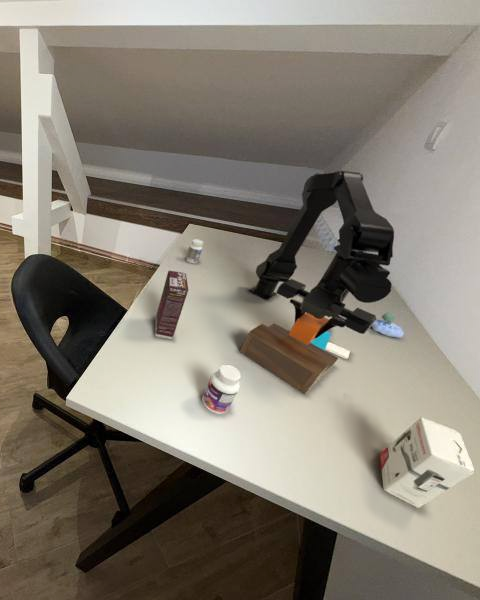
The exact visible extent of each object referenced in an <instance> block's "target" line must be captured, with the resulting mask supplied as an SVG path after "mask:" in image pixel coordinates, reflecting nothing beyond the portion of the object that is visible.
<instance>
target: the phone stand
mask: <svg viewBox="0 0 480 600" xmlns="http://www.w3.org/2000/svg"><path fill="white" fill-rule="evenodd" d="M329 331H330V329H329V330H328V331H326V332H325V333H323V334H322V335H320V336H319V337H317V338H315V339H314V340H313V341H312V342H310V343H312V344H314V345H315V346H317V347H319V348H321V349H323V350H325V351H326V352H328V353H330V354H332V355H334V356H337V357H340V358H342V359H344V360H348V359H349V357H350V354H351V350H348V349H347V348H344V347H342V346H339V345H337V344H335V343H332V342H330V338H331V336H332V333H331V332H329Z"/></svg>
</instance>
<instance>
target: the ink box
mask: <svg viewBox="0 0 480 600" xmlns="http://www.w3.org/2000/svg"><path fill="white" fill-rule="evenodd" d="M379 463H380V470H381V478H382V485H383V486H382V487H383V491H385V492H387V493H388V494H390V495H392V496H394V497H396V498H397V499H400V500H402V501H403V502H406V503H407V504H409V505H410V506H411V505H412V506H413V507H415V508H418V509H419V508H422V507H423V506H424V505H425V504H427V503H429V502H430V501H432V500H433V499H435V498H436V497H438V496H440V495H442V493H444V492H446V491H447V490H449V489H451V488H453V487H454V486H456V485H457V484H459V483H461V482H462V481H464V480H465V479H466V478H468V477H470V476H471V475H473V474H474V471H475V468H474V466H473V463H472V460H471V458H470V456H469V452H468V450H467V448H466V445H465V442H464V439H463V437H462V434H461V433H460V432H458V431H457V430H454V429H453V428H451V427H448V426H446V425H443V424H440V423H438V422H436V421H433V420H430V419H428V418H425V417H422V416H421V417H419V419H417V420H416V421H415V422H414V423H413V424H411V425H410V427H408V428H407V429H406V430H405V431H404V432H403V433H401V434H400V435H399V436H398V437H396V439H394V440H393V441H392V442H391V443H390V444H388V446H386V447H385V448H384V449H383V450H382V451H380V452H379Z"/></svg>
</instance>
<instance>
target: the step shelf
mask: <svg viewBox="0 0 480 600" xmlns="http://www.w3.org/2000/svg"><path fill="white" fill-rule="evenodd" d="M290 331H291V330H289V329H288V330H287V329H286V328H284V327H282V326H280V324H279V325H278V323H272V324H270V325H269V326H267V325H266V324H264V323H260V324H259V325H258V326H256V327H254V328H252V329H250V330H249V332H248V335H247V336H246V338H245V340H244V342H243V344H242V347H241V349H240V350H239V353H240V354H242V355H243V356H245V357H247V358H248V359H250V360H252V361H253V362H254V363H256V364H257V365H259V366H261V367H262V368H264V369H265V370H267V372H270V374H273V375H274V376H276V377H277V378H279V379H280V380H282V381H284V382H285V383H287V384H288V385H290V386H291V387H293V388H294V389H295V390H297V391H299V392H300V393H302V394H304V395H306V394H307V393H308V392H309V391H310V390H311V389H312V388H313V387H314V386H315V385H316V384H317V383H318V382H319V381H320V380H321V379H322V378H323V377H324V376H325V375H326V374H327V372H329V371H330V370H331V368H333V366H334V365H335V363H336V362H337V361H338V360H339V357H338V356H337V355H335V354H333V353H331V352H329V351H327V350H323V349H321V348H319V347H317V346H315V345H314V344H312V343H309V344H308V345H306V344H304V343H302V342H300V341H299V340H297V339H295V338H293V337H291V336H290V335H288V334H289V332H290Z"/></svg>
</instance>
